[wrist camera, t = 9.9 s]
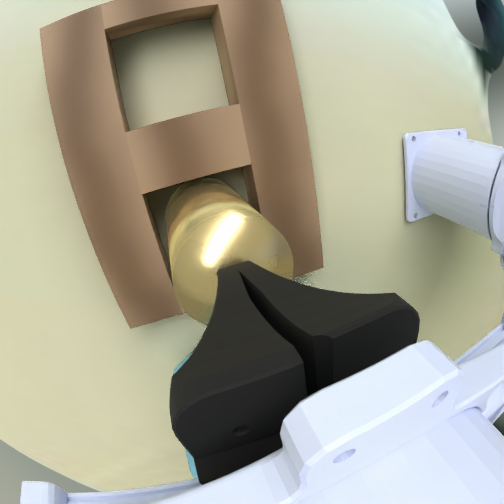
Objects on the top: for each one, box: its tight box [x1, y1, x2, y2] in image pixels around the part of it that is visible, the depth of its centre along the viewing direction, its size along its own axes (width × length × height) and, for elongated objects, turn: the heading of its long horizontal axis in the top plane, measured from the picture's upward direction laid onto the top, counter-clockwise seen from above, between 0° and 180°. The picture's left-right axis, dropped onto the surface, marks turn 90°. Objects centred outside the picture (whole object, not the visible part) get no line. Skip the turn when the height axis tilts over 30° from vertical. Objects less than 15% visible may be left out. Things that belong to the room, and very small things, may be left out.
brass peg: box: [166, 177, 294, 325], centre depth 16 cm, size 5×5×9 cm
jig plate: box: [40, 0, 323, 329], centre depth 17 cm, size 14×20×2 cm
